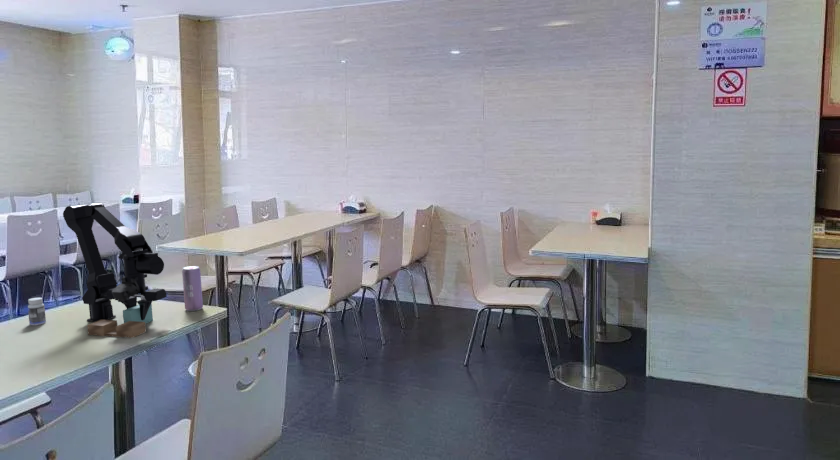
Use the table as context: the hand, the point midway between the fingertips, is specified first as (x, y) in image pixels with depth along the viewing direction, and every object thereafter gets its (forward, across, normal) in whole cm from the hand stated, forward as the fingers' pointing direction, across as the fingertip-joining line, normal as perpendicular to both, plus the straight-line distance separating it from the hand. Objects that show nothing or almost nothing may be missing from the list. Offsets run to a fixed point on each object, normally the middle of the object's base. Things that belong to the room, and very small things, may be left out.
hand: (138, 319), depth 206 cm
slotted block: (+2, 0, -10) cm, 10 cm away
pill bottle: (+2, -35, -5) cm, 35 cm away
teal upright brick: (+2, 0, 0) cm, 2 cm away
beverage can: (+2, +7, +20) cm, 21 cm away
